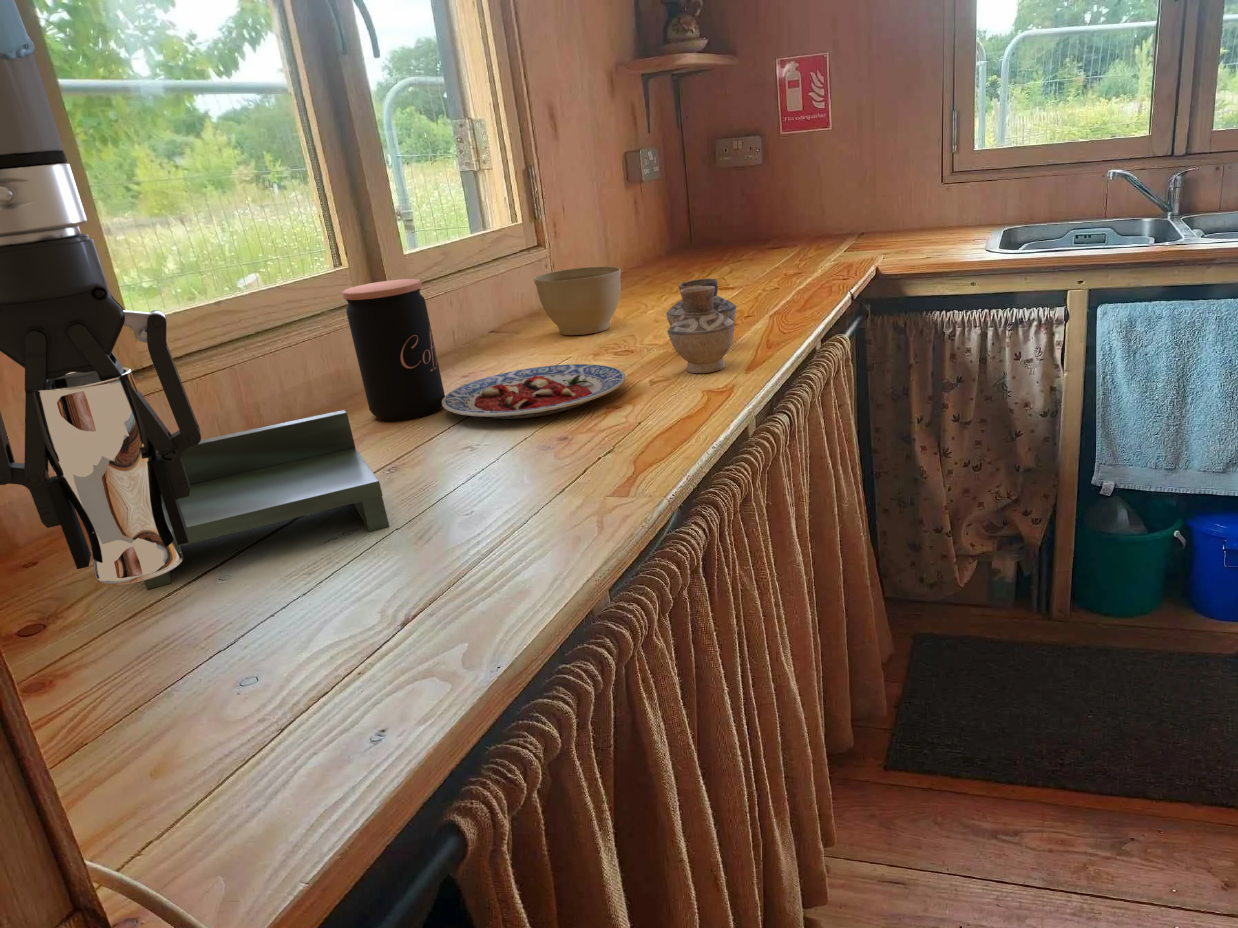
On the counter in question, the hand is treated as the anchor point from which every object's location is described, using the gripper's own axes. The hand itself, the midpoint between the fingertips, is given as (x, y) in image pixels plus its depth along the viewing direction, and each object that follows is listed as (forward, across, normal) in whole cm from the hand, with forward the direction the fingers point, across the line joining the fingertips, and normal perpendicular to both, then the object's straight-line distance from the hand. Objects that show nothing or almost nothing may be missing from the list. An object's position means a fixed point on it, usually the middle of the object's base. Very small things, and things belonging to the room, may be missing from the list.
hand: (134, 549), depth 74 cm
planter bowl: (+9, +72, +94) cm, 119 cm away
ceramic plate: (+9, +48, +49) cm, 69 cm away
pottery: (+9, +77, +53) cm, 94 cm away
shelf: (+9, +9, +22) cm, 25 cm away
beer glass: (+2, 0, 0) cm, 2 cm away
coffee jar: (+9, +32, +60) cm, 68 cm away
